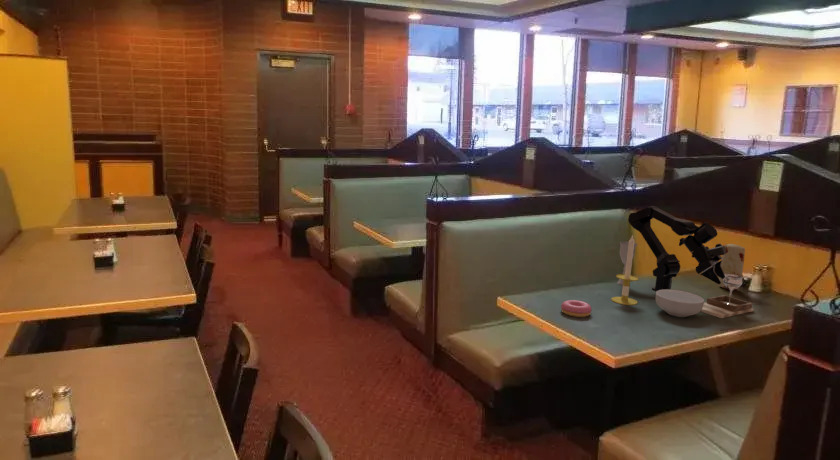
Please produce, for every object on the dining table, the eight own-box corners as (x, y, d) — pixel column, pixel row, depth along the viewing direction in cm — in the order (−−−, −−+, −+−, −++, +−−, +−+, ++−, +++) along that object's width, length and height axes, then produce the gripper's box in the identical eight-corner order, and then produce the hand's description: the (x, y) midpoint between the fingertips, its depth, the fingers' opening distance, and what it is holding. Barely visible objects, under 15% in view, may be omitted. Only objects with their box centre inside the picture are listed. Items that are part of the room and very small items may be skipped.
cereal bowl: (682, 323, 226) (685, 304, 224) (644, 309, 239) (646, 291, 238) (711, 317, 235) (714, 299, 233) (672, 304, 248) (674, 287, 247)
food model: (713, 286, 279) (720, 242, 275) (722, 285, 282) (729, 241, 279) (735, 292, 271) (742, 247, 267) (743, 291, 274) (750, 246, 271)
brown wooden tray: (721, 318, 234) (722, 310, 234) (690, 307, 245) (691, 300, 245) (753, 311, 246) (754, 303, 245) (722, 301, 256) (723, 294, 256)
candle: (622, 296, 256) (630, 230, 250) (643, 303, 247) (651, 236, 242) (605, 299, 250) (613, 232, 245) (626, 306, 242) (635, 237, 237)
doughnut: (579, 308, 237) (580, 297, 236) (597, 317, 227) (598, 306, 226) (554, 309, 233) (555, 298, 232) (571, 319, 223) (572, 308, 222)
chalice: (633, 283, 276) (638, 243, 273) (631, 287, 270) (636, 245, 267) (615, 280, 279) (620, 240, 276) (613, 284, 273) (618, 243, 270)
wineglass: (737, 309, 243) (742, 279, 241) (718, 305, 247) (722, 276, 244) (739, 305, 249) (744, 275, 246) (720, 301, 252) (725, 272, 250)
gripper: (709, 240, 241) (735, 274, 236) (720, 234, 255) (745, 266, 251) (684, 256, 247) (710, 290, 242) (696, 249, 261) (721, 281, 257)
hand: (722, 281), depth 248 cm, fingers open, 9 cm apart
